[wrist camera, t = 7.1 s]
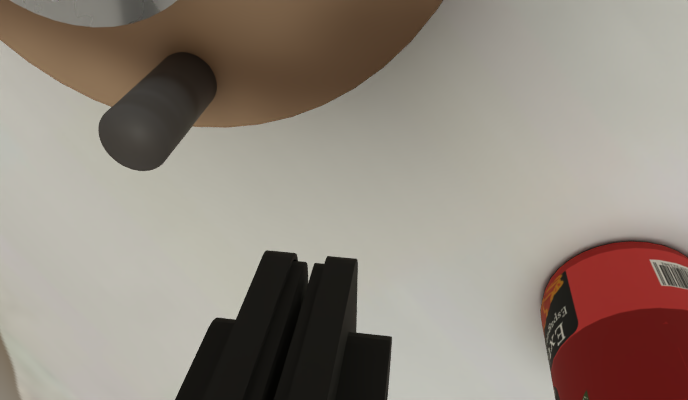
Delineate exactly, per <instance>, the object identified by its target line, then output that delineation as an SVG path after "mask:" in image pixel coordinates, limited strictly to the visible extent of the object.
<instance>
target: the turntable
mask: <svg viewBox="0 0 688 400" xmlns="http://www.w3.org/2000/svg"><path fill="white" fill-rule="evenodd" d="M442 1H443V0H177V1H176V2H175V3H173V4H172V5H170V6H169V7H168V8H166V9H165V10H163V11H161V12H159V13H157V14H155V15H153V16H151V17H150V18H147V19H144V20H141V21H138V22H135V23H132V24H126V25H121V26H115V27H86V26H77V25H71V24H67V23H63V22H59V21H55V20H52V19H49V18H46V17H44V16H41V15H38V14H35V13H33V12H31V11H29V10H27V9H25V8H23V7H21V6H19V5H17V4H15V3H13V2H12V1H10V0H0V40H1V41H2V42H4V43H5V44H6V45H7V46H9V47H10V48H11V49H13V50H14V51H15V52H16V53H18V54H19V55H20V56H21V57H23V58H24V59H25V60H27V61H28V62H29V63H31V64H32V65H34V66H35V67H37V68H39V69H40V70H42V71H43V72H45V73H46V74H48V75H49V76H51V77H53V78H54V79H56V80H57V81H59V82H60V83H62V84H64V85H66V86H68V87H70V88H72V89H74V90H76V91H78V92H80V93H82V94H84V95H86V96H87V97H89V98H91V99H93V100H96V101H98V102H101V103H103V104H106V105H109V106H111V108H110V109H109V110H108V111H107V112H106V113H105V114H104V115H103V116H102V118H101V120H100V123H99V137H100V140H101V143H102V145H103V147H104V148H105V150H106V151H107V153H108V154H109V155H110V156H111V157H112V158H113V159H114V160H115V161H117V162H118V163H120V164H121V165H123V166H125V167H127V168H130V169H133V170H138V171H148V170H153V169H155V168H157V167H159V166H160V165H162V164H163V163H164V161H165V160H166V159H167V158H168V156H169V155H170V154H171V153H172V151H173V150H174V149H175V147H176V146H177V145H178V144H179V142H180V141H181V140H182V139H183V137H184V136H185V135H186V133H187V132H188V131H189V130H190V128H191V127H192V126H194V127H236V126H246V125H257V124H263V123H267V122H271V121H276V120H280V119H284V118H289V117H293V116H295V115H298V114H301V113H303V112H306V111H309V110H311V109H314V108H317V107H319V106H322V105H324V104H326V103H328V102H330V101H332V100H334V99H335V98H337V97H339V96H341V95H343V94H345V93H347V92H348V91H350V90H352V89H354V88H356V87H357V86H358V85H360V84H361V83H362V82H364V81H365V80H367V79H368V78H369V77H371V76H372V75H373V74H375V73H376V72H378V71H379V70H380V69H382V68H383V67H384V66H385V65H387V64H388V63H389V62H390V61H391V60H392V59H393V58H394V57H395V56H396V55H397V54H398V53H399V52H400V51H401V50H402V49H403V48H404V47H405V46H407V45H408V44H409V43H410V42H411V41H412V40H413V38H414V37H415V36H416V35H417V34H418V32H419V31H420V30H421V29H422V27H423V26H424V25H425V24H426V22H427V21H428V20H429V19H430V18H431V16H432V15H433V14H434V13H435V11H436V10H437V9H438V7H439V6H440V4H441V3H442Z"/></svg>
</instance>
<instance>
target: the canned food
mask: <svg viewBox="0 0 688 400" xmlns="http://www.w3.org/2000/svg"><path fill="white" fill-rule="evenodd" d="M541 320H542V326H543V332H544V337H545V343H546V349H547V354H548V360H549V365H550V371H551V377H552V382H553V388H554V393H555V399H556V400H688V257H686V256H685V255H683V254H681V253H680V252H678V251H676V250H674V249H671V248H668V247H666V246H663V245H658V244H653V243H648V242H632V241H630V242H619V243H611V244H607V245H603V246H598V247H595V248H593V249H590V250H588V251H585V252H582V253H581V254H579V255H577V256H575V257H574V258H572V259H570V260H569V261H567V262H566V263H565V264H564V265H563V266H561V267H560V268H559V269H558V270H557V271H556V273H555V274H554V275H553V276H552V277H551V279H550V281H549V283H548V285H547V287H546V289H545V293H544V296H543V300H542V305H541Z"/></svg>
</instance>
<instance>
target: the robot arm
mask: <svg viewBox="0 0 688 400" xmlns="http://www.w3.org/2000/svg"><path fill="white" fill-rule="evenodd" d="M357 273H358V262H357V259H352V258H341V257H331V256H327V258H326V261H325V264H320V263H315V264H314V266H313V270H312V273H311V276H310V280H309V283H308V267H307V263H306V262H299V261H298V258H297V254H296V253H288V252H278V251H265V253H264V254H263V256H262V259H261V261H260V264H259V266H258V268H257V271H256V273H255V276H254V278H253V280H252V283H251V285H250V287H249V290H248V292H247V295H246V297H245V299H244V302H243V304H242V306H241V309H240V311H239V314H238V316H237V318H236V320H234V319H225V318H216V319H214V320H213V321H212V323H211V325H210V326H209V328H208V330H207V332H206V335H205V337H204V339H203V341H202V343H201V345H200V347H199V350H198V352H197V354H196V356H195V358H194V360H193V362H192V365H191V367H190V369H189V371H188V373H187V375H186V377H185V380H184V382H183V384H182V386H181V388H180V390H179V392H178V395H177V397H176V399H175V400H387V397H388V385H389V373H390V360H391V345H392V337H390V336H381V335H372V334H363V333H356V317H357Z"/></svg>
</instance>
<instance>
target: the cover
mask: <svg viewBox="0 0 688 400" xmlns="http://www.w3.org/2000/svg"><path fill="white" fill-rule="evenodd" d="M10 1H12V2H13V3H15V4H17V5H19V6H21V7H23V8H25V9H27V10H29V11H31V12H33V13H35V14H38V15H41V16H44V17H46V18H49V19H52V20H55V21H59V22H63V23H67V24H71V25H77V26H86V27H115V26H121V25H126V24H132V23H135V22H138V21H141V20H144V19H147V18H150V17H151V16H153V15H155V14H157V13H159V12H161V11H163V10H165V9H166V8H168V7H169V6H170V5H172V4H173V3H175V2H176V1H177V0H10Z"/></svg>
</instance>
